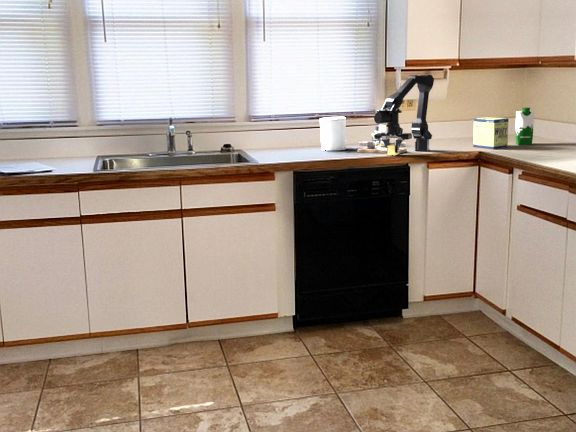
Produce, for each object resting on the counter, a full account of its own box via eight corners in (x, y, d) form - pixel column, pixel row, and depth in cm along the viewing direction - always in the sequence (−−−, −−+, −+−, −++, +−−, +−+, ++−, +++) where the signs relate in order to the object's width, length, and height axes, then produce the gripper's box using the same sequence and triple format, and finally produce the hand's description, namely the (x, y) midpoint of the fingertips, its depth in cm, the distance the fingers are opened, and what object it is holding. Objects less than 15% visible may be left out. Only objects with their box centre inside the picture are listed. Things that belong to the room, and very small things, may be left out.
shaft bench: (408, 151, 363) (408, 141, 361) (401, 153, 354) (401, 143, 353) (363, 150, 376) (363, 140, 375) (355, 152, 367) (355, 142, 366)
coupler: (398, 154, 353) (398, 144, 352) (394, 155, 349) (394, 145, 348) (391, 154, 355) (391, 144, 354) (387, 155, 351) (387, 145, 350)
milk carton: (517, 145, 369) (518, 108, 365) (513, 143, 378) (514, 107, 374) (534, 145, 368) (535, 107, 364) (530, 143, 377) (531, 106, 373)
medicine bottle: (371, 146, 391) (371, 125, 389) (380, 145, 395) (380, 124, 393) (380, 147, 386) (380, 125, 383) (389, 145, 390) (389, 124, 387)
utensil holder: (315, 150, 381) (314, 119, 377) (326, 147, 394) (326, 116, 390) (340, 151, 374) (339, 119, 370) (350, 148, 387) (350, 116, 383)
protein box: (493, 149, 358) (494, 119, 355) (472, 147, 371) (473, 118, 368) (508, 147, 363) (509, 118, 359) (486, 145, 376) (487, 116, 373)
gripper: (415, 121, 351) (415, 151, 354) (382, 120, 360) (382, 150, 364) (408, 123, 341) (408, 154, 345) (373, 122, 351) (373, 153, 354)
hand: (393, 152), depth 352 cm, fingers closed on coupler, 4 cm apart
